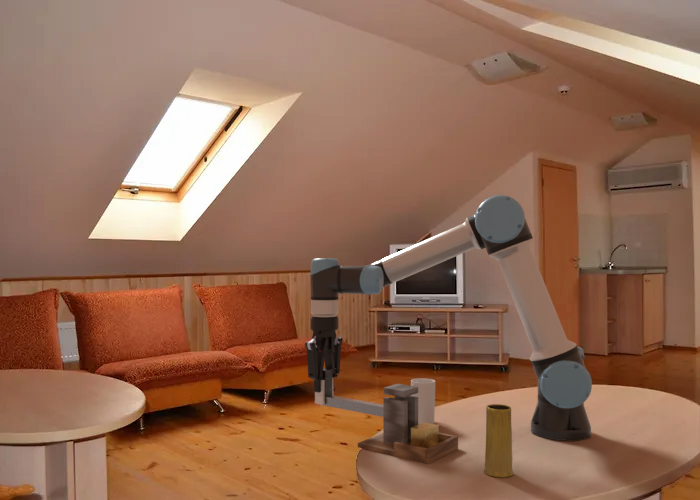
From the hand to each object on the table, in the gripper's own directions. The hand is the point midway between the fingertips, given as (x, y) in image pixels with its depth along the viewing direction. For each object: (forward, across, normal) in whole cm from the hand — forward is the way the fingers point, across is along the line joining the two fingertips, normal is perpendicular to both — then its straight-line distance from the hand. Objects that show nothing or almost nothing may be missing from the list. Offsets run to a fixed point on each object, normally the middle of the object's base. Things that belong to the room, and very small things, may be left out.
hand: (324, 402), depth 171 cm
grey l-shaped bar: (0, 0, +11) cm, 11 cm away
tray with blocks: (+7, 0, +26) cm, 27 cm away
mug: (+7, -23, +17) cm, 30 cm away
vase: (+8, +3, +51) cm, 52 cm away
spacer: (+4, 0, +29) cm, 29 cm away
